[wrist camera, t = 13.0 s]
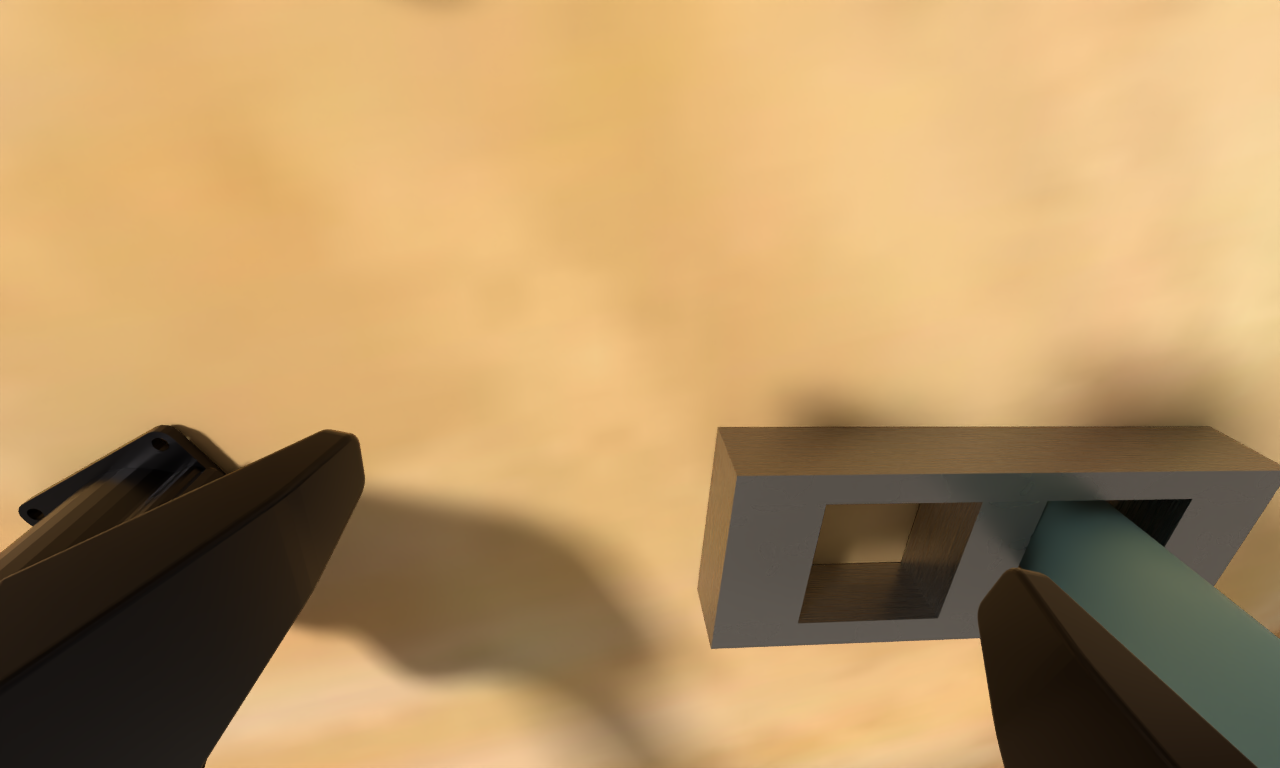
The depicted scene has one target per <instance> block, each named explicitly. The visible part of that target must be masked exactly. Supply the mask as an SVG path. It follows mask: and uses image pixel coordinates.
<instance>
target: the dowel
mask: <svg viewBox="0 0 1280 768" xmlns="http://www.w3.org/2000/svg"><path fill="white" fill-rule="evenodd" d="M1019 565H1020V566H1021V567H1022V568H1023V569H1025V570H1030V571H1035V572H1040V573H1042V574H1044V575H1046V576H1048V577H1049V578H1050V579H1051V580H1052V581H1053V582H1055V583H1056V584H1057V585H1058V586H1059V587H1060V588H1061V589H1062V590H1063V591H1064V592H1066V593H1067V594H1068V595H1069V596H1070V597H1071V598H1072V599H1073V600H1074V601H1075V602H1077V603H1078V604H1079V605H1080V606H1081V607H1082V608H1083V609H1084V610H1085V611H1086V612H1088V613H1089V614H1090V615H1091V616H1092V617H1093V618H1094V619H1095V620H1096V621H1097V622H1099V623H1100V624H1101V625H1102V626H1103V627H1104V628H1105V629H1106V630H1107V631H1108V632H1110V633H1111V634H1112V635H1113V636H1114V637H1115V638H1116V639H1117V640H1118V641H1119V642H1121V643H1122V644H1123V645H1124V646H1125V647H1126V648H1127V649H1128V650H1129V651H1130V652H1132V653H1133V654H1134V655H1135V656H1136V657H1137V658H1138V659H1139V660H1140V661H1141V662H1143V663H1144V664H1145V665H1146V666H1147V667H1148V668H1149V669H1150V670H1151V671H1152V672H1153V673H1155V674H1156V675H1157V676H1158V677H1159V678H1160V679H1161V680H1162V681H1163V682H1164V683H1166V684H1167V685H1168V686H1169V687H1170V688H1171V689H1172V690H1173V691H1174V692H1175V693H1177V694H1178V695H1179V696H1180V697H1181V698H1182V699H1183V700H1184V701H1185V702H1186V703H1188V704H1189V705H1190V706H1191V707H1192V708H1193V709H1194V710H1195V711H1196V712H1197V713H1199V714H1200V715H1201V716H1202V717H1203V718H1204V719H1205V720H1206V721H1207V722H1208V723H1210V724H1211V725H1212V726H1213V727H1214V728H1215V729H1216V730H1217V731H1218V732H1219V733H1221V734H1222V735H1223V736H1224V737H1225V738H1226V739H1227V740H1228V741H1229V742H1230V743H1232V744H1233V745H1234V746H1235V747H1236V748H1237V749H1238V750H1239V751H1240V752H1241V753H1243V754H1244V755H1245V756H1246V757H1247V758H1248V759H1249V760H1250V761H1251V762H1252V763H1254V764H1255V765H1256V766H1257V767H1258V768H1280V639H1279V638H1278V637H1277V636H1275V635H1274V634H1273V633H1271V632H1270V631H1269V630H1268V629H1266V628H1265V627H1264V626H1263V625H1261V624H1260V623H1259V622H1258V621H1256V620H1255V619H1254V618H1253V617H1251V616H1250V615H1249V614H1248V613H1246V612H1245V611H1244V610H1243V609H1241V608H1240V607H1239V606H1238V605H1236V604H1235V603H1234V602H1232V601H1231V600H1230V599H1229V598H1227V597H1226V596H1225V595H1224V594H1222V593H1221V592H1220V591H1219V590H1217V589H1216V588H1215V587H1214V586H1212V585H1211V584H1210V583H1209V582H1207V581H1206V580H1205V579H1204V578H1202V577H1201V576H1200V575H1198V574H1197V573H1196V572H1195V571H1193V570H1192V569H1191V568H1190V567H1188V566H1187V565H1186V564H1185V563H1183V562H1182V561H1181V560H1180V559H1178V558H1177V557H1176V556H1175V555H1173V554H1172V553H1171V552H1170V551H1168V550H1167V549H1166V548H1165V547H1163V546H1162V545H1161V544H1159V543H1158V542H1157V541H1156V540H1154V539H1153V538H1152V537H1151V536H1149V535H1148V534H1147V533H1146V532H1144V531H1143V530H1142V529H1141V528H1139V527H1138V526H1137V525H1136V524H1134V523H1133V522H1132V521H1131V520H1129V519H1128V518H1127V517H1126V516H1124V515H1123V514H1122V513H1120V512H1119V511H1118V510H1117V509H1115V508H1114V507H1113V506H1112V505H1110V504H1109V503H1108V502H1107V501H1105V500H1087V501H1047V504H1046V506H1045V508H1044V510H1043V513H1042V515H1041V517H1040V519H1039V522H1038V524H1037V526H1036V528H1035V530H1034V533H1033V535H1032V537H1031V539H1030V542H1029V544H1028V546H1027V548H1026V551H1025V553H1024V555H1023V557H1022V560H1021V562H1020V564H1019Z"/></svg>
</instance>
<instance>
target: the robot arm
mask: <svg viewBox="0 0 1280 768" xmlns="http://www.w3.org/2000/svg"><path fill="white" fill-rule="evenodd" d="M160 438H162V439H164V440H166V441H167V442H168V444H166V443H164V442H162V441H161V439H160ZM364 484H365V474H364V467H363V461H362V455H361V449H360V443H359V440H358V438H357V437H356V436H355V435H353V434H351V433H346V432H341V431H336V430H331V429H326V430H322V431H320V432H317V433H315V434H313V435H311V436H309V437H307V438H304V439H302V440H300V441H298V442H296V443H294V444H292V445H289V446H287V447H285V448H283V449H281V450H279V451H277V452H274V453H272V454H270V455H268V456H266V457H264V458H262V459H259V460H257V461H255V462H253V463H251V464H249V465H246V466H244V467H242V468H240V469H238V470H236V471H234V472H231V473H229V474H227V475H226V474H225V473H224V472H223V471H222V470H221V469H220V468H219V467H218V466H217V465H216V464H214V463H213V462H212V461H211V460H210V459H209V458H208V457H207V456H206V455H205V454H204V453H203V452H201V451H200V450H199V449H198V448H197V447H196V446H195V445H194V444H193V443H192V442H191V441H189V440H188V439H187V438H186V437H185V436H184V435H183V434H182V433H181V432H180V431H178V430H177V429H175V428H174V427H171V426H168V425H160V426H157V427H154V428H153V429H151V430H149V431H147V432H146V433H144V434H142V435H140V436H139V437H137V438H135V439H133V440H132V441H130V442H128V443H126V444H125V445H123V446H121V447H119V448H118V449H116V450H114V451H112V452H110V453H109V454H107V455H105V456H103V457H102V458H100V459H98V460H96V461H95V462H93V463H91V464H89V465H88V466H86V467H84V468H82V469H81V470H79V471H77V472H75V473H74V474H72V475H70V476H68V477H66V478H65V479H63V480H61V481H59V482H58V483H56V484H54V485H52V486H51V487H49V488H47V489H45V490H44V491H42V492H40V493H38V494H37V495H35V496H33V497H31V498H30V499H29V500H27V501H26V502H25V503H23V504H22V505H21V506H20V507H19V511H18V512H19V514H20V516H21V517H22V518H23V519H24V520H25V521H26V522H27V523H29V524H30V525H31V526H33V527H32V528H31V529H29V530H28V531H27V532H26V533H24V534H23V535H22V536H21V537H19V538H18V539H17V540H16V541H14V542H13V543H12V544H11V545H10V546H8V547H7V548H6V549H5V550H3V551H2V552H1V553H0V768H204V767H205V764H206V761H207V758H208V757H209V755H210V753H211V752H212V750H213V749H214V747H215V745H216V744H217V742H218V741H219V739H220V738H221V736H222V734H223V733H224V731H225V730H226V728H227V727H228V725H229V723H230V722H231V720H232V719H233V717H234V716H235V714H236V712H237V711H238V709H239V708H240V706H241V705H242V703H243V701H244V700H245V698H246V697H247V695H248V694H249V692H250V690H251V689H252V687H253V686H254V684H255V683H256V681H257V679H258V678H259V676H260V675H261V673H262V672H263V670H264V668H265V667H266V665H267V664H268V662H269V661H270V659H271V657H272V656H273V654H274V653H275V651H276V650H277V648H278V646H279V645H280V643H281V642H282V640H283V638H284V637H285V635H286V634H287V632H288V631H289V629H290V627H291V626H292V624H293V623H294V621H295V620H296V618H297V616H298V615H299V613H300V612H301V610H302V609H303V607H304V605H305V604H306V602H307V600H308V599H309V597H310V595H311V594H312V592H313V590H314V588H315V586H316V585H317V583H318V581H319V579H320V577H321V575H322V573H323V571H324V569H325V567H326V565H327V563H328V561H329V559H330V557H331V555H332V553H333V551H334V549H335V547H336V545H337V543H338V541H339V539H340V537H341V535H342V533H343V531H344V529H345V527H346V525H347V523H348V521H349V519H350V517H351V514H352V512H353V510H354V508H355V506H356V504H357V502H358V500H359V498H360V496H361V494H362V492H363V488H364ZM977 619H978V627H979V633H980V640H981V646H982V652H983V658H984V665H985V671H986V677H987V684H988V690H989V696H990V703H991V709H992V715H993V720H994V726H995V731H996V736H997V740H998V744H999V748H1000V752H1001V756H1002V760H1003V764H1004V768H1258V767H1257V766H1256V765H1255V764H1254V763H1252V762H1251V761H1250V760H1249V759H1248V758H1247V757H1246V756H1245V755H1244V754H1243V753H1241V752H1240V751H1239V750H1238V749H1237V748H1236V747H1235V746H1234V745H1233V744H1232V743H1230V742H1229V741H1228V740H1227V739H1226V738H1225V737H1224V736H1223V735H1222V734H1221V733H1219V732H1218V731H1217V730H1216V729H1215V728H1214V727H1213V726H1212V725H1211V724H1210V723H1208V722H1207V721H1206V720H1205V719H1204V718H1203V717H1202V716H1201V715H1200V714H1199V713H1197V712H1196V711H1195V710H1194V709H1193V708H1192V707H1191V706H1190V705H1189V704H1188V703H1186V702H1185V701H1184V700H1183V699H1182V698H1181V697H1180V696H1179V695H1178V694H1177V693H1175V692H1174V691H1173V690H1172V689H1171V688H1170V687H1169V686H1168V685H1167V684H1166V683H1164V682H1163V681H1162V680H1161V679H1160V678H1159V677H1158V676H1157V675H1156V674H1155V673H1153V672H1152V671H1151V670H1150V669H1149V668H1148V667H1147V666H1146V665H1145V664H1144V663H1143V662H1141V661H1140V660H1139V659H1138V658H1137V657H1136V656H1135V655H1134V654H1133V653H1132V652H1130V651H1129V650H1128V649H1127V648H1126V647H1125V646H1124V645H1123V644H1122V643H1121V642H1119V641H1118V640H1117V639H1116V638H1115V637H1114V636H1113V635H1112V634H1111V633H1110V632H1108V631H1107V630H1106V629H1105V628H1104V627H1103V626H1102V625H1101V624H1100V623H1099V622H1097V621H1096V620H1095V619H1094V618H1093V617H1092V616H1091V615H1090V614H1089V613H1088V612H1086V611H1085V610H1084V609H1083V608H1082V607H1081V606H1080V605H1079V604H1078V603H1077V602H1075V601H1074V600H1073V599H1072V598H1071V597H1070V596H1069V595H1068V594H1067V593H1066V592H1064V591H1063V590H1062V589H1061V588H1060V587H1059V586H1058V585H1057V584H1056V583H1055V582H1053V581H1052V580H1051V579H1050V578H1049V577H1048V576H1046V575H1044V574H1042V573H1040V572H1035V571H1030V570H1025V569H1020V568H1010V569H1008V570H1006V571H1005V572H1004V573H1003V574H1002V575H1001V577H1000V578H999V579H998V581H997V582H996V583H995V584H994V586H993V587H992V588H991V590H990V591H989V592H988V593H987V595H986V596H985V597H984V599H983V600H982V601H981V603H980V606H979V608H978V617H977Z"/></svg>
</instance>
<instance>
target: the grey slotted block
mask: <svg viewBox="0 0 1280 768" xmlns="http://www.w3.org/2000/svg"><path fill="white" fill-rule="evenodd" d="M1279 486H1280V465H1279V464H1278V463H1276V462H1274V461H1272V460H1270V459H1268V458H1267V457H1265V456H1263V455H1261V454H1259V453H1257V452H1256V451H1254V450H1252V449H1250V448H1248V447H1246V446H1245V445H1243V444H1241V443H1239V442H1237V441H1235V440H1234V439H1232V438H1230V437H1228V436H1226V435H1224V434H1223V433H1221V432H1219V431H1217V430H1215V429H1213V428H1212V427H718V431H717V439H716V447H715V455H714V462H713V470H712V478H711V486H710V494H709V502H708V510H707V517H706V525H705V533H704V541H703V549H702V557H701V565H700V572H699V580H698V588H697V589H698V594H699V598H700V603H701V607H702V611H703V616H704V620H705V625H706V629H707V633H708V638H709V642H710V646H711V649H718V648H743V647H768V646H793V645H819V644H844V643H869V642H894V641H919V640H944V639H969V638H980V633H979V627H978V619H977V617H978V608H979V606H980V603H981V601H982V600H983V599H984V597H985V596H986V595H987V593H988V592H989V591H990V590H991V588H992V587H993V586H994V584H995V583H996V582H997V581H998V579H999V578H1000V577H1001V575H1002V574H1003V573H1004V572H1005V571H1006V570H1008V569H1010V568H1020V569H1023V568H1022V567H1021V566H1020V565H1019V564H1020V562H1021V560H1022V557H1023V555H1024V553H1025V551H1026V548H1027V546H1028V544H1029V542H1030V539H1031V537H1032V535H1033V533H1034V530H1035V528H1036V526H1037V524H1038V522H1039V519H1040V517H1041V515H1042V513H1043V510H1044V508H1045V506H1046V504H1047V501H1087V500H1105V501H1107V502H1108V503H1109V504H1110V505H1112V506H1113V507H1114V508H1115V509H1117V510H1118V511H1119V512H1120V513H1122V514H1123V515H1124V516H1126V517H1127V518H1128V519H1129V520H1131V521H1132V522H1133V523H1134V524H1136V525H1137V526H1138V527H1139V528H1141V529H1142V530H1143V531H1144V532H1146V533H1147V534H1148V535H1149V536H1151V537H1152V538H1153V539H1154V540H1156V541H1157V542H1158V543H1159V544H1161V545H1162V546H1163V547H1165V548H1166V549H1167V550H1168V551H1170V552H1171V553H1172V554H1173V555H1175V556H1176V557H1177V558H1178V559H1180V560H1181V561H1182V562H1183V563H1185V564H1186V565H1187V566H1188V567H1190V568H1191V569H1192V570H1193V571H1195V572H1196V573H1197V574H1198V575H1200V576H1201V577H1202V578H1204V579H1205V580H1206V581H1207V582H1209V583H1210V584H1211V585H1212V586H1214V585H1215V584H1216V582H1217V581H1218V579H1219V578H1220V576H1221V575H1222V573H1223V572H1224V570H1225V569H1226V567H1227V566H1228V564H1229V562H1230V561H1231V559H1232V558H1233V556H1234V555H1235V553H1236V552H1237V550H1238V549H1239V547H1240V546H1241V544H1242V543H1243V541H1244V540H1245V538H1246V537H1247V535H1248V534H1249V532H1250V531H1251V529H1252V527H1253V526H1254V524H1255V523H1256V521H1257V520H1258V518H1259V517H1260V515H1261V514H1262V512H1263V511H1264V509H1265V508H1266V506H1267V505H1268V503H1269V502H1270V500H1271V499H1272V497H1273V496H1274V494H1275V492H1276V491H1277V489H1278V488H1279ZM891 503H920V506H919V509H918V512H917V515H916V518H915V521H914V524H913V527H912V530H911V533H910V536H909V539H908V542H907V545H906V548H905V552H904V555H903V558H902V561H901V563H864V564H825V565H812V562H813V558H814V553H815V549H816V545H817V541H818V537H819V533H820V528H821V524H822V520H823V516H824V512H825V507H826V504H891Z"/></svg>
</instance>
